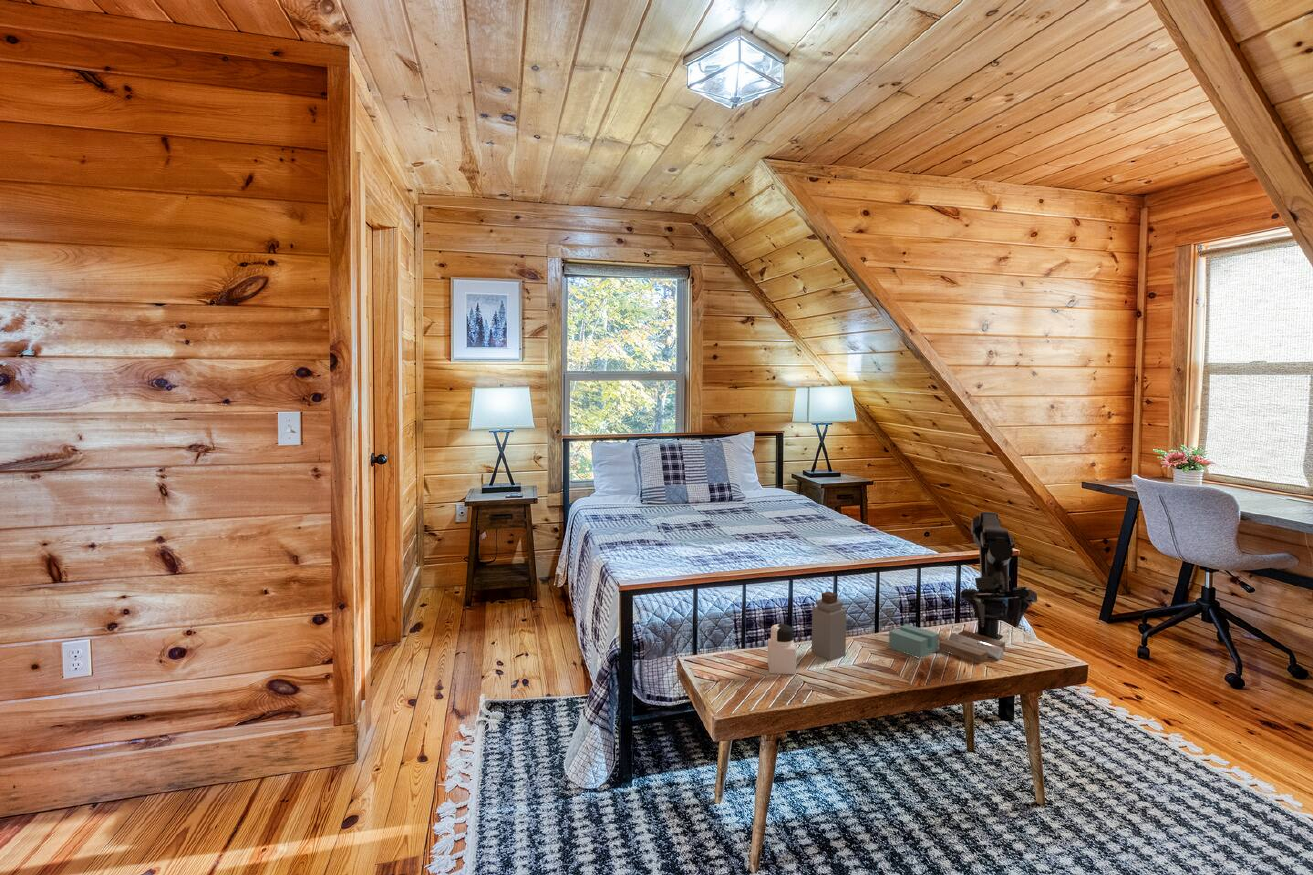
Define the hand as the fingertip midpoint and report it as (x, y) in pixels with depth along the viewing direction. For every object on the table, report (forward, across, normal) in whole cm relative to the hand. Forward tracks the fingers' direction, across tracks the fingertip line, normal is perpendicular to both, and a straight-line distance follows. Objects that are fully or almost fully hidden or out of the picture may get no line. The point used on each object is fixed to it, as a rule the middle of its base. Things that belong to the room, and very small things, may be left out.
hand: (998, 626), depth 175 cm
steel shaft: (+5, -11, +10) cm, 16 cm away
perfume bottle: (+14, -37, -25) cm, 47 cm away
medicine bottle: (+22, -39, -41) cm, 61 cm away
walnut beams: (+5, -12, +9) cm, 16 cm away
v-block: (+8, -23, -3) cm, 25 cm away
